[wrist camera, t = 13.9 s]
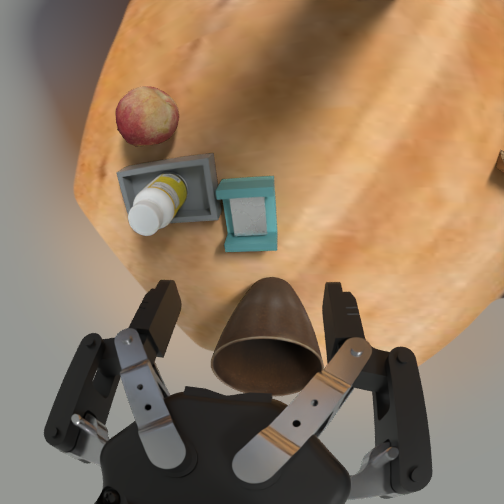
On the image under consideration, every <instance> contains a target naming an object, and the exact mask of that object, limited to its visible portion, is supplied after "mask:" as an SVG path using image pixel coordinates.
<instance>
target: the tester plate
mask: <svg viewBox="0 0 504 504" xmlns="http://www.w3.org/2000/svg"><path fill="white" fill-rule="evenodd" d="M230 206H231V213H232V220H233V227H234V234H235V236H251V235H267V221H266V208H265V197H251V198H235V199H230Z"/></svg>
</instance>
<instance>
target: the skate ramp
mask: <svg viewBox="0 0 504 504" xmlns="http://www.w3.org/2000/svg"><path fill="white" fill-rule="evenodd" d="M496 168H497V169H499V170H500V171H502V172H503V173H504V151H502V150H500V154H499V157H498V161H497V164H496Z"/></svg>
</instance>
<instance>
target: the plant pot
mask: <svg viewBox="0 0 504 504" xmlns="http://www.w3.org/2000/svg"><path fill="white" fill-rule="evenodd" d="M211 368H212V371H213V373H214V374H215V376H216V377H217V378H218V379H219V380H220V381H221V382H223V383H224V384H226V385H227V386H229V387H231V388H233V389H235V390H238V391H240V392H243V393H249V392H252V393H272V396H284V395H290V394H294V393H297V392H300V391H302V390H303V389H304V387H305V386H306V385H307V384H308V383H309V382H310V380H311V379H312V378H313V377H314V376H315V375H316V374H317V373H318V372H322V371H323V370H324V365H323V361H322V357H321V353H320V349H319V346H318V342H317V338H316V335H315V332H314V330H313V327H312V324H311V322H310V319H309V317H308V315H307V313H306V310H305V308H304V306H303V305H302V303H301V301H300V299H299V297H298V296H297V294H296V293H295V291H294V290H293V288H292V287H291V285H290V284H289V283H288V282H286V281H284V280H282V279H280V278H275V277H269V278H264V279H261V280H259V281H257V282H256V283H255V284H254V285H253V286H252V287H251V288H250V290H249V291H248V292H247V293H246V295H245V296H244V297H243V299H242V300H241V302H240V303H239V304H238V306H237V307H236V309H235V311H234V312H233V314H232V316H231V317H230V319H229V321H228V323H227V325H226V327H225V329H224V331H223V333H222V335H221V337H220V339H219V341H218V344H217V346H216V348H215V351H214V353H213V356H212V359H211Z"/></svg>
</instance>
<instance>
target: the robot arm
mask: <svg viewBox="0 0 504 504" xmlns="http://www.w3.org/2000/svg"><path fill="white" fill-rule="evenodd" d="M180 311H181V299H180V296H179V293H178V290H177V287H176V284H175V281H173V280H160V281H159V282H158V284H157V286H156V288H155V289H151V290H150V291H149V292H148V293H147V294H146V295H145V297H144V298H143V301H142V303H141V304H140V306H139V309H138V310H137V312H136V314H135V316H134V318H133V320H132V322H131V324H130V326H129V328H127V329H124V330H122V331H120V332H119V333H118V334H117V336H116V337H115V338H109V339H102V338H101V336H100V335H99V334H96V333H91V334H88V335H87V336H85V337H84V338H83V339H82V341H81V343H80V345H79V347H78V349H77V351H76V353H75V355H74V357H73V360H72V362H71V364H70V366H69V368H68V370H67V373H66V375H65V377H64V380H63V382H62V384H61V387H60V389H59V392H58V394H57V396H56V399H55V401H54V405H53V407H52V409H51V412H50V415H49V417H48V420H47V423H46V426H45V429H44V437H45V439H46V441H47V442H48V443H49V444H50V445H52V446H54V447H55V448H57V449H59V450H60V451H61V452H63V453H65V454H66V455H68V456H70V457H72V458H74V459H78V460H80V461H82V462H84V463H94V464H96V465H99V466H101V469H102V475H103V490H102V492H101V494H100V496H99V498H98V499H97V501H96V502H95V503H94V504H345V502H346V501H347V500H355V499H363V498H371V497H378V496H379V497H381V498H385V499H388V498H393V497H397V496H401V495H405V494H409V493H412V492H416V491H419V490H421V489H423V488H424V487H425V486H426V485H427V484H428V483H429V482H430V480H431V477H432V459H431V446H430V436H429V429H428V420H427V414H426V407H425V401H424V395H423V390H422V385H421V380H420V376H419V370H418V366H417V361H416V357H415V355H414V353H413V352H412V351H411V350H410V349H408V348H406V347H396V348H394V349H392V350H391V352H387V351H382V350H378V349H375V348H373V347H372V346H371V345H370V344H369V342H367V341H366V339H365V336H364V331H363V327H362V323H361V318H360V315H359V310H358V306H357V302H356V299H355V297H354V296H353V295H352V294H351V293H350V292H343V291H342V287H341V283H340V282H326V284H325V291H324V298H323V306H322V313H323V323H324V332H325V341H326V352H327V363H328V365H327V366H326V367H325V368H324V370H323V371H322V372H318V373H317V374H316V375H315V376H314V377H313V378H312V379H311V380H310V382H309V383H308V384H307V385H306V386H305V387H304V389H303V390H302V391H301V392H300V393H299V394H298V395H297V397H296V398H295V399H294V400H293V401H292V402H291V403H290V404H289V405H286V404H284V403H282V402H281V401H278V400H275V399H272V393H252V392H249V393H243V394H237V395H230V396H226V395H222V394H219V393H216V392H213V391H211V390H208V389H203V388H196V387H188V386H186V387H185V391H184V392H179V393H176V394H173V395H170V393H169V392H168V390H167V388H166V386H165V384H164V381H163V379H162V377H161V375H160V372H159V370H158V368H157V366H156V363H155V359H156V357H164V355H165V352H166V349H167V346H168V344H169V341H170V338H171V335H172V333H173V330H174V327H175V325H176V322H177V319H178V317H179V314H180ZM96 371H97V372H96ZM95 373H96V375H95ZM94 376H95V377H94ZM120 377H121V379H122V383H123V386H124V389H125V392H126V395H127V398H128V401H129V404H130V407H131V410H132V413H133V415H134V418H135V421H134V422H133V423H132V424H130V425H129V426H128V427H126V428H125V429H123V430H122V431H121V432H119V433H118V434H117V435H115V436H114V437H112V438H111V439H109V437H108V430H107V428H106V426H105V424H106V421H107V417H108V414H109V411H110V408H111V404H112V401H113V398H114V395H115V392H116V389H117V386H118V383H119V380H120ZM93 378H94V380H93ZM354 388H359V389H363V390H368V391H372V395H373V407H374V423H375V448H373V449H372V450H371V451H370V452H368V453H367V454H366V455H365V456H364V458H363V460H362V463H361V467H360V470H359V471H358V473H357V474H355V475H352V476H350V475H349V473H348V471H347V470H346V469H345V467H344V466H343V465H342V464H341V463H340V462H339V461H338V460H337V459H336V458H335V457H334V456H333V455H332V453H331V452H329V450H328V449H327V448H326V447H325V445H324V444H323V443H322V442H321V441H320V440H319V439H318V437H319V436H320V435H321V433H322V432H323V431H324V430H325V429H326V427H327V426H328V425H329V423H330V422H331V420H332V419H333V418H334V416H335V415H336V413H337V412H338V411H339V409H340V408H341V406H342V405H343V403H344V402H345V401H346V400H347V398H348V397H349V395H350V394H351V392H352V391H353V390H354Z"/></svg>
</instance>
